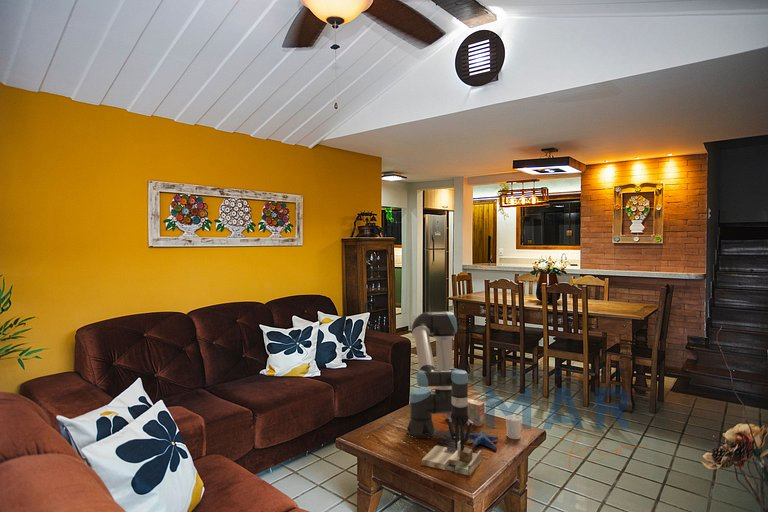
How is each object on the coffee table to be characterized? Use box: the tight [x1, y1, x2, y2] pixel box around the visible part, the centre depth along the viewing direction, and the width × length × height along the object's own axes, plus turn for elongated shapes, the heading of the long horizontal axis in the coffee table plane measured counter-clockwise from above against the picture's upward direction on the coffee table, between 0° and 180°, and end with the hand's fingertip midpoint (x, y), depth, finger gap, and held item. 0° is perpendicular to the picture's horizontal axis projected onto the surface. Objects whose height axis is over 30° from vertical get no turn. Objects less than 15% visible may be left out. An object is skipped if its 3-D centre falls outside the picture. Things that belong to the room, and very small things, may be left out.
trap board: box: [421, 444, 483, 477], centre depth 212 cm, size 23×17×4 cm
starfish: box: [465, 430, 499, 452], centre depth 231 cm, size 19×19×5 cm
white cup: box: [505, 414, 522, 440], centre depth 240 cm, size 8×8×10 cm
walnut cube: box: [460, 447, 473, 463], centre depth 209 cm, size 4×4×4 cm
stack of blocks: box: [446, 398, 486, 427], centre depth 263 cm, size 21×6×12 cm, turn 51°
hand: (459, 456), depth 211 cm, fingers closed
